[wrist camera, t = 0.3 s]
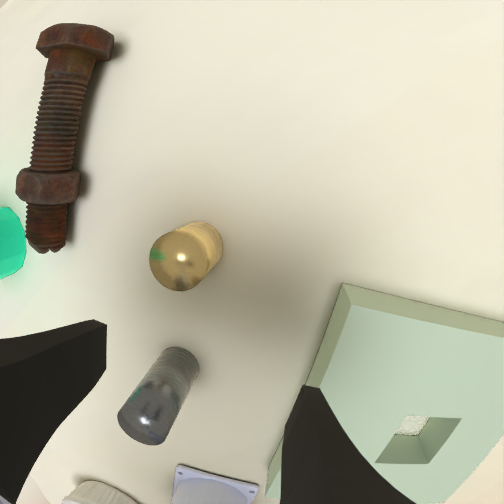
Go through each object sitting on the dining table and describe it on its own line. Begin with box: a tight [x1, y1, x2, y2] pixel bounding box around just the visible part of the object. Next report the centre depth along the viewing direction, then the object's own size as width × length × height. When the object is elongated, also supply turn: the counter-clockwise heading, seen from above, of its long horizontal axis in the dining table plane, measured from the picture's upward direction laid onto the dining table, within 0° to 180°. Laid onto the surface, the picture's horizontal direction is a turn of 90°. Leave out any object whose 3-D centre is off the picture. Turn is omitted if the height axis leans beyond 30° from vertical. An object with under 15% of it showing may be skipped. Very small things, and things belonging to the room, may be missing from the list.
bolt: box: [16, 23, 114, 254], centre depth 17 cm, size 6×5×15 cm
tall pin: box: [117, 347, 199, 445], centre depth 18 cm, size 3×3×7 cm
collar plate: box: [265, 283, 504, 504], centre depth 19 cm, size 18×18×4 cm
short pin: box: [149, 222, 223, 291], centre depth 18 cm, size 3×3×4 cm
